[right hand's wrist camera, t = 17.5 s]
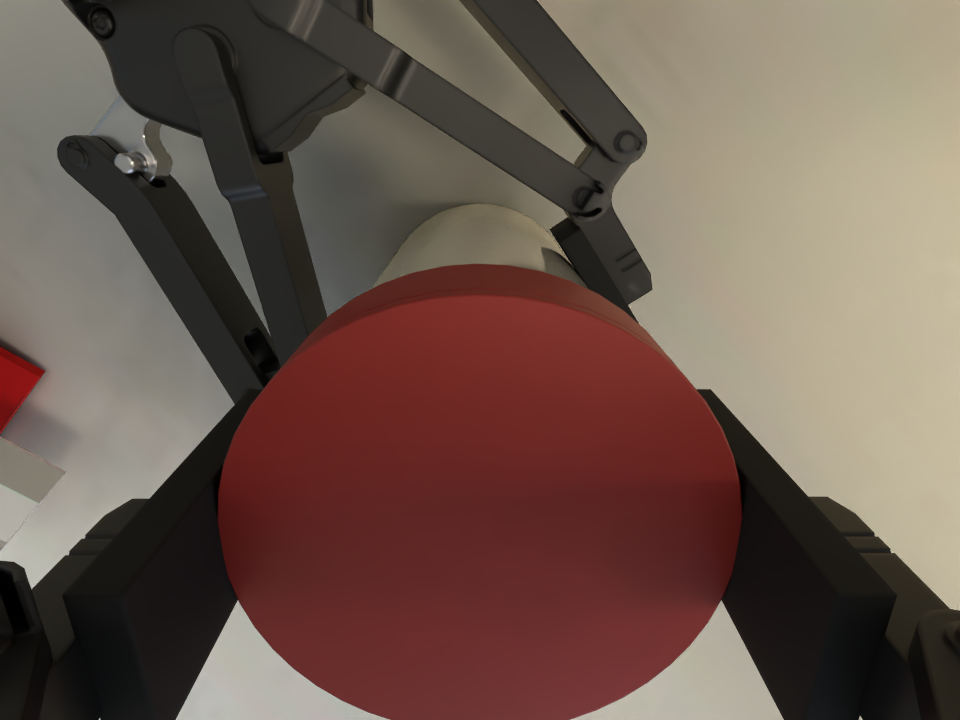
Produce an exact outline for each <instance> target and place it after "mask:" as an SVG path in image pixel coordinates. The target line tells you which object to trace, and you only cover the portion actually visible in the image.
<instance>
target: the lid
mask: <svg viewBox="0 0 960 720" xmlns="http://www.w3.org/2000/svg"><path fill="white" fill-rule="evenodd" d="M217 521H218V527H219V533H220V539H221V544H222V549H223V555H224V560H225V565H226V570H227V574H228V578H229V580H230V583H231V585H232V587H233V589H234V591H235V594H236V596H237V598H238V600H239V603H240V604H241V606H242V608H243V609H244V611H245V612H246V614H247V616H248V617H249V619H250V620H251V622H252V624H253V625H254V627H255V628H256V629H257V630H258V632H259V633H260V634H261V635H262V637H263V638H264V639H265V640H266V641H267V643H268V644H269V645H270V646H271V647H272V649H273V650H274V651H275V652H277V653H278V654H279V655H280V656H281V657H282V658H283V659H284V660H285V661H286V662H287V663H288V664H289V665H290V666H291V667H292V668H294V669H295V670H296V671H298V672H299V673H300V674H302V675H303V676H304V677H306V678H307V679H308V680H310V681H311V682H312V683H314V684H315V685H316V686H318V687H320V688H321V689H323V690H325V691H327V692H328V693H330V694H332V695H333V696H335V697H337V698H338V699H340V700H342V701H344V702H346V703H349V704H351V705H353V706H355V707H358V708H360V709H362V710H364V711H366V712H369V713H372V714H375V715H378V716H381V717H384V718H387V719H390V720H570V719H573V718H576V717H579V716H582V715H584V714H587V713H590V712H593V711H596V710H598V709H600V708H602V707H604V706H606V705H608V704H611V703H613V702H615V701H617V700H619V699H621V698H623V697H625V696H626V695H628V694H630V693H631V692H633V691H635V690H636V689H638V688H639V687H641V686H643V685H644V684H646V683H648V682H649V681H650V680H651V679H653V678H654V677H655V676H657V675H658V674H659V673H660V672H662V671H663V670H664V669H665V668H667V667H668V666H669V665H671V664H672V663H673V662H674V661H675V660H676V659H677V658H678V657H679V656H680V655H681V654H682V653H683V652H684V651H685V650H686V649H687V648H688V647H689V646H690V645H691V643H692V642H693V641H694V640H695V638H696V637H697V636H698V635H699V633H700V632H701V631H702V629H703V628H704V627H705V626H706V624H707V623H708V621H709V620H710V618H711V616H712V615H713V613H714V611H715V610H716V608H717V606H718V605H719V603H720V601H721V599H722V597H723V595H724V593H725V590H726V588H727V585H728V583H729V581H730V578H731V576H732V572H733V567H734V562H735V557H736V551H737V546H738V540H739V535H740V529H741V523H742V502H741V487H740V482H739V478H738V473H737V469H736V465H735V460H734V456H733V454H732V451H731V449H730V446H729V444H728V442H727V439H726V437H725V434H724V432H723V429H722V427H721V426H720V424H719V422H718V421H717V419H716V417H715V416H714V414H713V412H712V411H711V409H710V407H709V406H708V404H707V402H706V401H705V399H704V398H703V397H702V396H701V395H700V393H699V392H698V391H697V390H696V389H695V388H694V386H693V385H692V384H691V383H690V382H689V380H688V379H687V378H686V377H685V376H684V374H683V373H682V372H681V371H680V370H679V369H678V367H677V366H676V365H675V364H674V363H673V362H672V360H671V359H670V358H669V357H668V356H667V355H666V353H665V352H664V351H663V350H662V349H661V348H660V346H659V345H658V344H657V343H656V342H655V340H654V339H653V338H652V337H651V336H650V335H649V333H648V332H647V331H646V330H645V329H644V328H643V327H641V326H640V325H639V324H638V323H637V322H636V321H635V320H634V319H632V318H631V317H630V316H629V315H628V314H627V313H626V312H625V311H623V310H622V309H620V308H619V307H617V306H616V305H614V304H613V303H611V302H610V301H608V300H607V299H605V298H604V297H602V296H601V295H599V294H597V293H595V292H593V291H591V290H589V289H587V288H585V287H583V286H581V285H578V284H576V283H574V282H572V281H570V280H567V279H564V278H561V277H558V276H554V275H551V274H548V273H545V272H542V271H538V270H532V269H527V268H522V267H516V266H511V265H496V264H477V263H476V264H463V265H450V266H442V267H437V268H432V269H428V270H423V271H418V272H413V273H410V274H407V275H405V276H402V277H399V278H396V279H393V280H391V281H388V282H385V283H382V284H380V285H378V286H376V287H375V288H373V289H371V290H369V291H367V292H365V293H363V294H361V295H359V296H357V297H355V298H354V299H352V300H351V301H349V302H348V303H347V304H345V305H344V306H342V307H341V308H340V309H338V310H337V311H335V312H334V313H332V314H331V315H330V316H329V317H328V318H327V319H326V320H325V321H324V322H322V323H321V324H320V325H319V326H318V327H317V328H316V329H315V330H314V331H313V332H312V333H311V334H310V335H309V336H308V337H307V338H306V339H305V340H304V342H303V343H302V344H301V345H300V346H299V347H298V349H297V350H296V351H295V352H294V353H293V354H292V356H291V357H290V358H289V359H288V360H287V361H286V363H285V364H284V365H283V366H282V367H281V368H280V370H279V371H278V372H277V373H276V374H275V375H274V377H273V378H272V379H271V380H270V381H269V383H268V384H267V385H266V387H265V388H264V389H263V390H262V392H261V393H260V394H259V395H258V397H257V398H256V399H255V400H254V402H253V403H252V404H251V406H250V407H249V409H248V411H247V413H246V414H245V416H244V418H243V420H242V421H241V423H240V425H239V427H238V429H237V430H236V432H235V434H234V437H233V439H232V442H231V445H230V448H229V450H228V453H227V456H226V458H225V461H224V465H223V470H222V475H221V480H220V485H219V490H218V510H217Z"/></svg>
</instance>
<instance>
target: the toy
mask: <svg viewBox="0 0 960 720" xmlns="http://www.w3.org/2000/svg"><path fill="white" fill-rule="evenodd" d="M44 372H45V371H44V370H42V369H40V368H38V367H36V366H34V365H33V364H31V363H29V362H27V361H25V360H23V359H22V358H20V357H18V356H16V355H14V354H12V353H11V352H9V351H7V350H5V349H3V348H1V347H0V434H1V433H2V431H3V430H4V428H5V427H6V426H7V424H8V423H9V421H10V420H11V419H12V417H13V416H14V414H15V413H16V412H17V410H18V409H19V407H20V406H21V405H22V403H23V402H24V400H25V399H26V398H27V396H28V395H29V393H30V392H31V391H32V389H33V388H34V386H35V385H36V384H37V382H38V381H39V379H40V378H41V377H42V375H43V374H44ZM65 472H66V471H64V470H62V469H60V468H58V467H56V466H54V465H53V464H51V463H49V462H47V461H45V460H43V459H41V458H40V457H38V456H36V455H34V454H32V453H30V452H28V451H26V450H25V449H23V448H21V447H19V446H17V445H15V444H13V443H12V442H10V441H8V440H6V439H4V438H2V437H0V552H1V550H2V549H3V548H4V547H5V546H6V544H7V543H8V542H9V541H10V539H11V538H12V537H13V536H14V535H15V533H16V532H17V531H18V530H19V528H20V527H21V526H22V525H23V524H24V522H25V521H26V519H27V518H28V517H29V516H30V515H31V514H32V512H33V511H34V510H35V509H36V508H37V507H38V505H39V504H40V503H41V502H42V500H43V499H44V498H45V497H46V496H47V494H48V493H49V492H50V491H51V490H52V488H53V487H54V486H55V485H56V483H57V482H58V481H59V480H60V479H61V477H62V476H63V475H64V474H65Z"/></svg>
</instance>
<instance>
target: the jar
mask: <svg viewBox="0 0 960 720" xmlns="http://www.w3.org/2000/svg"><path fill="white" fill-rule="evenodd" d="M476 263H477V264H496V265H511V266H516V267H522V268H527V269H532V270H538V271H542V272H545V273H548V274H551V275H554V276H558V277H561V278H564V279H567V280H570V281H572V282H574V283H576V284H578V285H581V286H583V287H585V288H587V289H589V288H588V287H587V286H586V284H585V283H584V281H583V280H582V279H581V277H580V276H579V274H578V273H577V272H576V270H575V269H574V267H573V266H572V265H571V263H570V262H569V260H568V259H567V258H566V256H565V255H564V253H563V252H562V251H561V249H560V248H559V246H558V245H557V244H556V242H555V241H554V240H553V238H552V237H551V236H550V235H549V234H548V233H547V232H546V231H545V230H544V229H543V228H542V227H541V226H540V225H539V224H537V223H536V222H535V221H534V220H532V219H530V218H529V217H527V216H525V215H524V214H522V213H520V212H517V211H515V210H512V209H510V208H506V207H502V206H498V205H491V204H469V205H462V206H457V207H454V208H451V209H447V210H445V211H443V212H441V213H438V214H436V215H434V216H433V217H431V218H430V219H428V220H426V221H425V222H424V223H422V224H421V225H420V226H419V227H418V228H416V229H415V230H414V231H413V232H412V234H411V235H410V236H409V237H408V238H407V239H406V241H405V242H404V243H403V245H402V246H401V247H400V249H399V250H398V252H397V253H396V254H395V256H394V257H393V259H392V260H391V261H390V263H389V264H388V266H387V267H386V268H385V270H384V271H383V273H382V274H381V275H380V277H379V278H378V280H377V281H376V282H375V284H374V285H373V287H372V288H371V289H373V288H375V287H376V286H378V285H380V284H382V283H385V282H388V281H391V280H393V279H396V278H399V277H402V276H405V275H407V274H410V273H413V272H418V271H423V270H428V269H432V268H437V267H442V266H450V265H463V264H476ZM371 289H370V290H371Z"/></svg>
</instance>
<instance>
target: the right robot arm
mask: <svg viewBox="0 0 960 720" xmlns="http://www.w3.org/2000/svg"><path fill="white" fill-rule="evenodd" d="M262 390H263V389H249V390H248V391H247V392H246V393H245V394H244V395H243V396H242V398H241V399H240V400H239V401H238V402H237V403H236V404H235V405H234V406H233V407H232V409H231V410H230V411H229V412H228V413H227V414H226V415H225V416H224V417H223V418H222V420H221V421H220V422H219V423H218V424H217V425H216V426H215V427H214V428H213V429H212V430H211V432H210V433H209V434H208V435H207V436H206V437H205V438H204V439H203V440H202V441H201V443H200V444H199V445H198V446H197V447H196V448H195V449H194V450H193V451H192V452H191V454H190V455H189V456H188V457H187V458H186V459H185V460H184V461H183V462H182V463H181V465H180V466H179V467H178V468H177V469H176V470H175V471H174V472H173V473H172V474H171V476H170V477H169V478H168V479H167V480H166V481H165V482H164V483H163V484H162V485H161V487H160V488H159V489H158V490H157V491H156V492H155V493H154V494H153V495H152V496H151V498H150V499H131V500H130V501H128V502H126V503H125V504H123V505H121V506H120V507H118V508H116V509H115V510H113V511H111V512H110V513H108V514H106V515H105V516H104V517H103V518H102V519H101V520H100V521H99V522H98V523H97V524H96V525H95V526H94V527H93V528H92V529H91V530H90V531H89V532H88V533H87V534H86V537H85V539H81V540H80V541H79V542H78V543H77V544H76V545H75V546H74V547H73V548H72V549H71V550H70V551H69V552H70V553H69V555H65V556H64V557H63V558H62V559H61V560H60V561H59V562H58V563H57V564H56V565H55V566H54V567H53V568H52V569H51V570H50V571H49V572H48V573H47V574H46V575H45V577H44V578H43V579H42V580H41V581H40V582H39V583H38V584H37V585H36V586H35V587H34V588H33V589H32V590H31V587H30V584H29V581H28V578H27V575H26V572H25V569H24V568H23V567H21V566H20V565H18V564H16V563H15V562H8V561H0V720H98V719H99V718H100V719H101V720H176V718H177V716H178V714H179V712H180V710H181V708H182V706H183V704H184V702H185V700H186V698H187V696H188V695H189V693H190V691H191V689H192V687H193V685H194V683H195V681H196V679H197V677H198V675H199V673H200V672H201V670H202V668H203V666H204V664H205V662H206V660H207V658H208V656H209V654H210V652H211V650H212V648H213V647H214V645H215V643H216V641H217V639H218V637H219V635H220V633H221V631H222V629H223V627H224V625H225V624H226V622H227V620H228V618H229V616H230V614H231V612H232V610H233V608H234V606H235V604H236V602H237V600H238V598H237V596H236V594H235V591H234V589H233V587H232V585H231V583H230V580H229V578H228V574H227V570H226V565H225V560H224V555H223V549H222V544H221V539H220V533H219V527H218V521H217V510H218V490H219V485H220V480H221V475H222V470H223V465H224V461H225V458H226V456H227V453H228V450H229V448H230V445H231V442H232V439H233V437H234V434H235V432H236V430H237V429H238V427H239V425H240V423H241V421H242V420H243V418H244V416H245V414H246V413H247V411H248V409H249V407H250V406H251V404H252V403H253V402H254V400H255V399H256V398H257V397H258V395H259V394H260V393H261V392H262ZM696 390H697V391H698V392H699V393H700V395H701V396H702V397H703V398H704V399H705V401H706V402H707V404H708V406H709V407H710V409H711V411H712V412H713V414H714V416H715V417H716V419H717V421H718V422H719V424H720V426H721V427H722V429H723V432H724V434H725V437H726V439H727V442H728V444H729V446H730V449H731V451H732V454H733V456H734V460H735V465H736V469H737V473H738V478H739V482H740V487H741V502H742V523H741V529H740V535H739V540H738V546H737V551H736V557H735V562H734V567H733V572H732V576H731V578H730V581H729V583H728V585H727V588H726V590H725V593H724V595H723V597H722V599H721V600H722V602H723V604H724V605H725V607H726V609H727V611H728V613H729V615H730V617H731V619H732V621H733V623H734V625H735V627H736V629H737V630H738V632H739V634H740V636H741V638H742V640H743V642H744V644H745V646H746V648H747V650H748V652H749V653H750V655H751V657H752V659H753V661H754V663H755V665H756V667H757V669H758V671H759V673H760V675H761V677H762V678H763V680H764V682H765V684H766V686H767V688H768V690H769V692H770V694H771V696H772V698H773V700H774V702H775V703H776V705H777V707H778V709H779V711H780V713H781V715H782V717H783V719H784V720H859V716H861V717H862V719H863V720H960V611H958V610H952V609H949V607H948V606H947V605H946V604H945V603H944V602H943V601H942V600H941V599H940V598H939V597H938V596H937V595H936V594H935V593H934V592H933V591H932V590H931V589H930V588H929V587H928V586H927V585H926V584H925V583H924V582H923V581H922V580H921V579H920V578H919V577H918V576H917V575H916V574H915V573H914V572H913V571H912V570H911V569H910V568H909V567H908V566H907V565H906V564H905V563H904V562H903V561H902V560H901V559H900V558H899V557H898V556H897V555H896V554H895V553H891V551H890V548H889V547H888V546H887V545H886V544H885V543H884V542H883V541H882V540H881V539H880V538H879V537H875V535H874V532H873V531H872V530H871V529H870V528H869V527H868V526H867V525H866V524H865V523H864V522H863V521H862V520H861V519H860V518H859V517H858V516H857V515H856V514H855V513H853V512H852V511H850V510H848V509H847V508H845V507H843V506H842V505H840V504H838V503H837V502H835V501H833V500H832V499H830V498H828V497H808V496H807V495H806V494H805V493H804V492H803V491H802V489H801V488H800V487H799V486H798V485H797V484H796V483H795V482H794V481H793V480H792V478H791V477H790V476H789V475H788V474H787V473H786V472H785V471H784V470H783V469H782V468H781V466H780V465H779V464H778V463H777V462H776V461H775V460H774V459H773V458H772V457H771V455H770V454H769V453H768V452H767V451H766V450H765V449H764V448H763V447H762V446H761V444H760V443H759V442H758V441H757V440H756V439H755V438H754V437H753V436H752V435H751V433H750V432H749V431H748V430H747V429H746V428H745V427H744V426H743V425H742V424H741V422H740V421H739V420H738V419H737V418H736V417H735V416H734V415H733V414H732V413H731V411H730V410H729V409H728V408H727V407H726V406H725V405H724V404H723V403H722V402H721V400H720V399H719V398H718V397H717V396H716V395H715V394H714V393H713V392H712V391H711V389H696Z"/></svg>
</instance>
